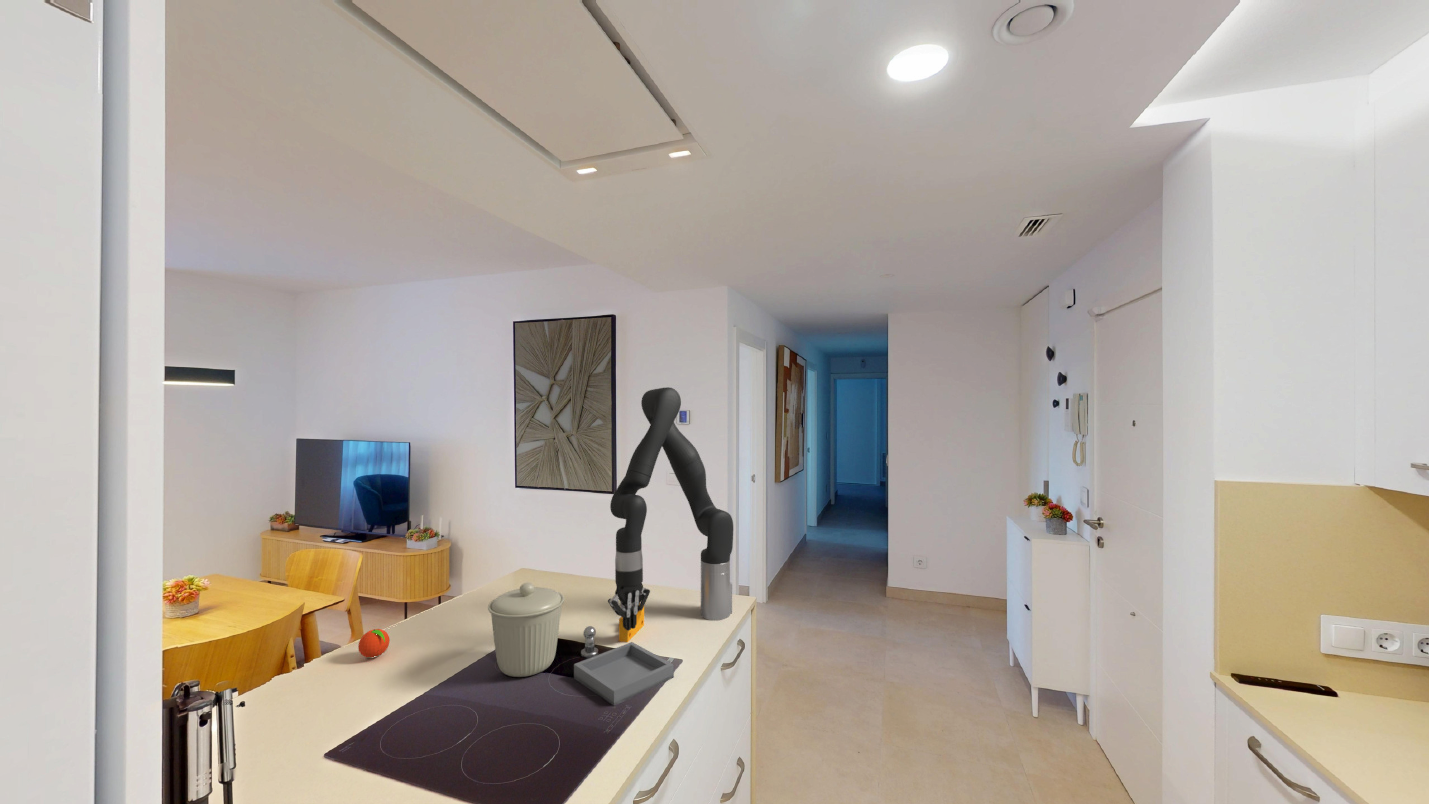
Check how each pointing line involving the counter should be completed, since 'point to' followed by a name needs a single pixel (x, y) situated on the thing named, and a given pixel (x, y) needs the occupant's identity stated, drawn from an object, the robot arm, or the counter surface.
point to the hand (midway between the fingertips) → (629, 628)
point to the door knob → (589, 643)
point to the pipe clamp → (628, 634)
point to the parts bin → (623, 672)
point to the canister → (526, 629)
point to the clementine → (374, 643)
